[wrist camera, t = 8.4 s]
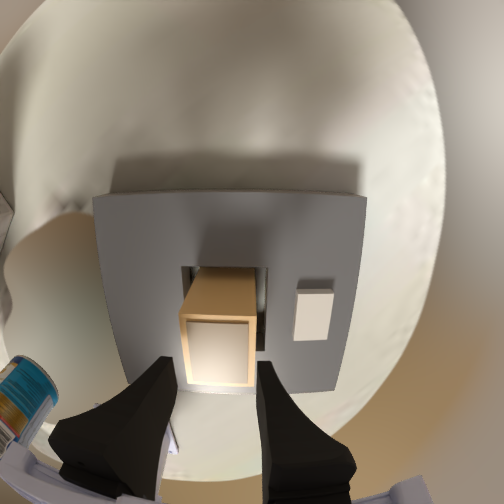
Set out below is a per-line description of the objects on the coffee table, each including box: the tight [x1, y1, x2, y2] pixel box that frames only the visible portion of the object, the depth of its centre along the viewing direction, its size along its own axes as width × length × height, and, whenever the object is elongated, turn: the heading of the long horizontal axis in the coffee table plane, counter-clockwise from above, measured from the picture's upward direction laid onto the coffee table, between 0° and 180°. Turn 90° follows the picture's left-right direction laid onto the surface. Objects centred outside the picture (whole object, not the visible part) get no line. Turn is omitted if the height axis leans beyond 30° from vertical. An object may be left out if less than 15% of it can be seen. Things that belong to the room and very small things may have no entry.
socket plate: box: [93, 189, 367, 394], centre depth 20 cm, size 18×16×3 cm
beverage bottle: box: [0, 355, 59, 460], centre depth 15 cm, size 8×8×20 cm
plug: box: [178, 267, 257, 387], centre depth 18 cm, size 4×5×7 cm
